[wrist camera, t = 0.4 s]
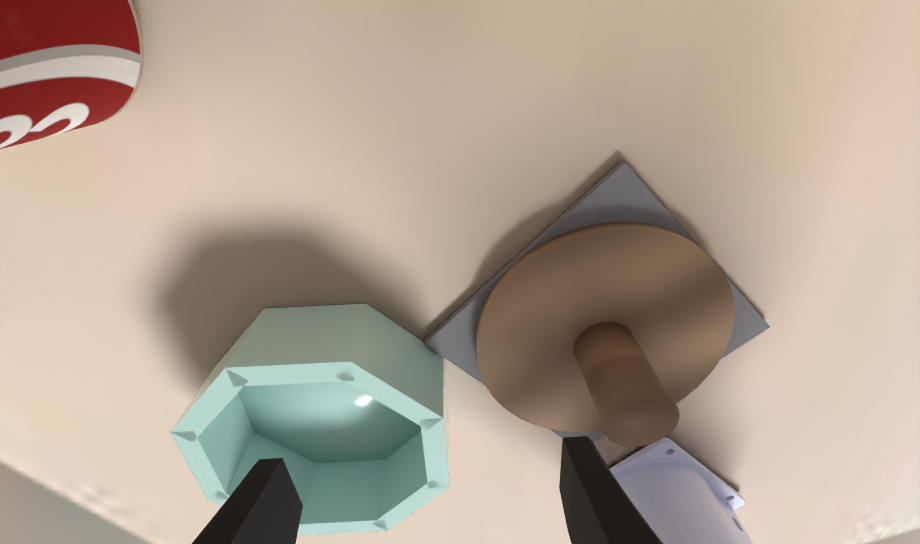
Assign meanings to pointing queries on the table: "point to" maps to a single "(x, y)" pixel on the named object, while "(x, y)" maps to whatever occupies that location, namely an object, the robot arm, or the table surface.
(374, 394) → the bowl
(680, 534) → the robot arm
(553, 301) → the lid
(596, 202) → the mat
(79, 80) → the soda can
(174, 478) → the table surface
